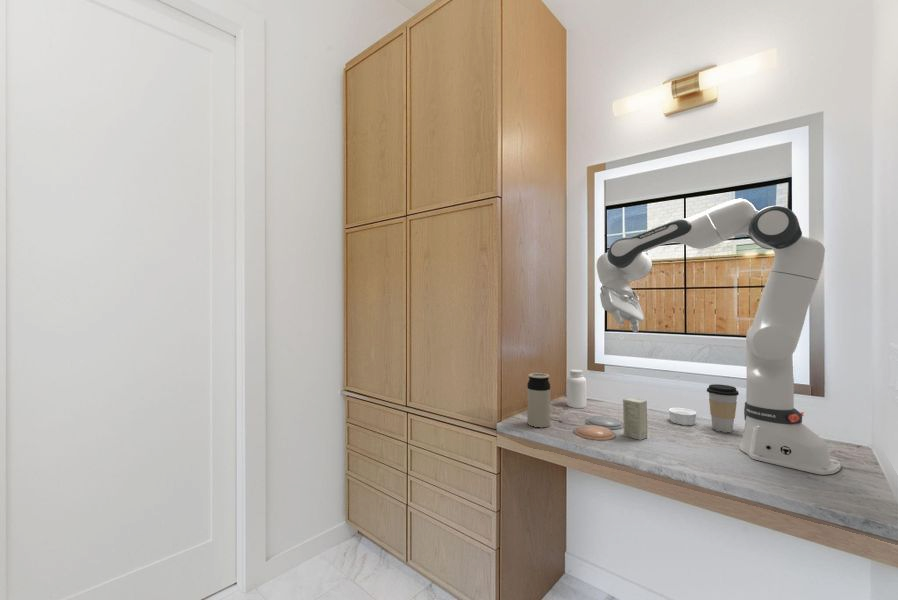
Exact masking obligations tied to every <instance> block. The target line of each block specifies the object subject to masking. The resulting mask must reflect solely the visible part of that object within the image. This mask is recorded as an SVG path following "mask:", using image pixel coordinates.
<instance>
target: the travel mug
mask: <svg viewBox="0 0 898 600" xmlns="http://www.w3.org/2000/svg"><path fill="white" fill-rule="evenodd" d="M527 376H528V378H529V379H528V382H527V393H526V394H527V395H526V396H527V397H526V399H527V400H526V401H527V410H526V412H527V415H526V418H527V419H526V422H527V423H528V424H529V426H530V425H531V426H530V427H532V426H534V427H533V428H536V427H540V428H539V429H544V428H543V427H545V428H547V427H549V426H551V383H550V381H549V378H550V374H549V373H544V372H543V373H542V372H541V373H540V372H532V373H529V374H527ZM528 424H527V425H528Z"/></svg>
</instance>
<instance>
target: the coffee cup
mask: <svg viewBox="0 0 898 600" xmlns="http://www.w3.org/2000/svg"><path fill="white" fill-rule="evenodd" d="M705 391H706V392H707V393H708V398H709V399H708V401H709V412H710V416H711V426H712V429H713V430H714V429H715V430H714V431H716V430H718V431H717V432H720V431H722V432H721V433H727V432H730V433H732V432H733V430H734V421H735V418H736V410H737V400H738V396H739V394H740V393H739V391H738V390H737V387H735V386H732V385H728V384H716V383H715V384H713V383H712V384H709V385H708V387H707V388H706V390H705Z"/></svg>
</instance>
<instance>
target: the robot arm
mask: <svg viewBox="0 0 898 600" xmlns="http://www.w3.org/2000/svg"><path fill="white" fill-rule="evenodd" d="M740 235H745V236H746V237H747V238H748V239H750V240H751V241H753V243H754V244H756V245H757V246H759V247H760V248H763V249H765V250H773V252H774V259H773V263H772V267H771V268H770V271H769V274H768V276H767V280H766V283H765V285H764V287H763V291H762V293H761V295H760V300H759V303H758V307H757V310H756V313H755V316H754V319H753V320H752V321H753V322H752V325H751V326H749V328H748V330H747V332H746V337H745V339H746V340H745V341H746V342H745V343H746V346H745V347H746V348H745V349H746V355H745V356H746V363H745V364H746V395H745V396H746V398H745V399H746V400H745V402H744V406H743V415H744V416H743V417H744V428H743V429H744V430H743V435H742V438H741V442H740V444H739V448H738V449H740V451H741V452H743V453H744V454H747V455H748V456H749V457H750V458H751V459H752V460H755V461H760V462H764V463H767V464H768V463H769V464H772V465H777V466H781V467H785V468H789V469H794V470H798V471H802V472H806V473H807V472H808V473H811V474H816V475H833V474H835V473H837V472H839V471H840V470H841V469H842V467H841V463H840V462H839V461H838V460H836V459H834V458H831V455H830V450H829V447H828V444H827V442H826V441H825V440H824V439H823V438H822V437H820V436H819V435H818V434H817V433H815V432H814V431H812V430H811V429H810V428H809V427H808V426H806V425H805V424H804V423H803V417H804V416H805V415H804V411H801V412H800V411H798V410H797V409H796V408H795V407H794V406H795V405H794V402H795V400H794V397H795V396H794V394H795V388H794V387H795V381H794V380H795V379H794V370H793V369H794V368H793V367H794V366H793V354H794V352H795V351H796V349H797V348H798V347H797V346H798V344H799V340H800V337H801V334H802V331H803V327H804V324H805V320H806V316H807V312H808V309H809V306H810V303H811V301H812V298H813V295H814V293H815V290H816V287H817V284H818V282H819V280H820V277H821V273H822V269H823V266H824V260H825V252H826V247H825V246H824V244H823V243H822V242H821V241H819V240H817V239H815V238H811V237H808V236H807V237H806V236H803V232H802V230H801V226H800V223H799V219H798V217H797V215H796V214H795V213H794V212H793V210H791V209H790V208H788V207H786V206H781V205H772V206H771V205H770V206H767V207H764V208H762V209H761V210H757V209H756V207H755V206H754V205H753V204H752V203H751V202H750V201H748V200H747V199H743V198H736V199H732V200H729V201H726V202H724V203H721V204H718V205H716V206H714V207H711V208H709V209H707V210H705V211H703V212H701V213H698V214H696V215H693V216H690V217H687V218H680V219H675V220H671V221H669V222H667V223H663V224H661V225H657V226H655V227H653V228H651V229H648V230H645V231H643V232H641V233H637V234H635V235H632V236H624V237H621V238H619V239H616V240H615V241H614V242H612V244H611V245H610V246H609V248H608V250H607V252H605V253H603V254H601V255H600V256H599V257H598V258H597V260H596V270H597V275H598V280H599V281H600V283H601V287H599V288H600V294H599V296H600V304H601V306H602V308H603V310H604V311H607V312H609V313H611V316H612V317H613V318H614V320H615V323H616V324H617V325H619V326H621V325H623V324H624V321H627V322H628V323H630V324H631V327H630V328H631V330H632V332H634V333H637V332H639V331H640V328H639V324H640V323H642V322H643V321H644V318H645V317H644V313H643V310H642V306H641V304H640V302H639V301H640V298H639V296H638V294H636V293H635V291H634V290H633V288H631V286H630V285H629V283H631V282H635V281H637V280H641V279H643V278H646V277H647V276H648V275H649V273H650V272H651V271H652V269H653V261H652V259H651V258H650V257H649V256H648V254H647V253H645V252H648V251H650V250H653V249H655V248H658V247H661V246H663V245H667V244H672V243H673V244H674V243H675V244H682V245H685V246H687V247H690V248H693V249H697V250H698V249H699V250H704V249H709V248H712V247H713V246H716V245H719V244H720V243H723V242H725V241H727V240H730V239H732V238H734V237H737V236H740Z"/></svg>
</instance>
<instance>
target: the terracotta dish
mask: <svg viewBox="0 0 898 600" xmlns="http://www.w3.org/2000/svg"><path fill="white" fill-rule="evenodd" d="M573 431H574V434H575V435H576V436H578V437H581V438H582V439H587V440H593V441H610V440H613V439H614V438H616V433H615V432H614V430H610V429H608V428H605V427H602V426H596V425H587V424H583V425H579V426H577V427H575V428H574V430H573Z"/></svg>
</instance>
